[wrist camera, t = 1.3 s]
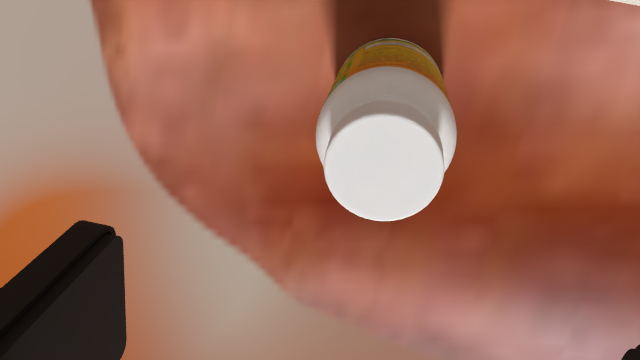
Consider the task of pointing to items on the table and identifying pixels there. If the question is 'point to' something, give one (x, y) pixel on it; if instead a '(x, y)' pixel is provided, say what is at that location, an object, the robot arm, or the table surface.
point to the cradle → (629, 1)
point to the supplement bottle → (386, 131)
